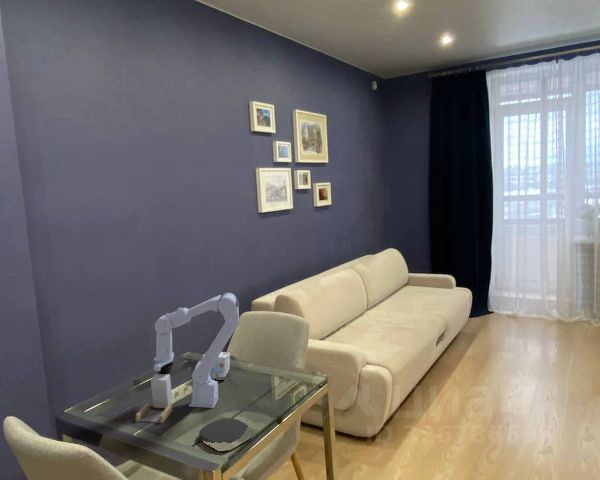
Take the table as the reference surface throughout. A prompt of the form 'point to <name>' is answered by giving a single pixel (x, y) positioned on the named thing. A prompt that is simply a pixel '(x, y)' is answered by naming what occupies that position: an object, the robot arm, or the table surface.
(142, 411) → the cradle
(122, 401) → the table surface
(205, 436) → the media streaming box
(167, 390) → the skincare box
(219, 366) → the light bulb box
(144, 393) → the table surface
